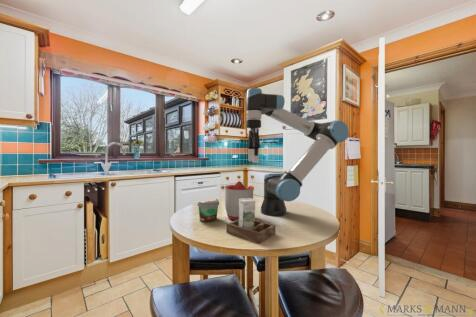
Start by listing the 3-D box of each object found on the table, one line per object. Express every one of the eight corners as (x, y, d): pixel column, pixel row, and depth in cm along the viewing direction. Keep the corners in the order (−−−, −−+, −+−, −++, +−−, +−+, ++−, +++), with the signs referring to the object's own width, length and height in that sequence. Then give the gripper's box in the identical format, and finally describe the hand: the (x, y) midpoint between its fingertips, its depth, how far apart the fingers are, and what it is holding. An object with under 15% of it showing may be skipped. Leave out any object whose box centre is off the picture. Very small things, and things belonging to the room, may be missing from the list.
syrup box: (249, 228, 101) (250, 197, 101) (254, 233, 96) (255, 200, 95) (238, 229, 100) (238, 198, 99) (242, 234, 94) (242, 201, 94)
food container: (203, 224, 107) (204, 204, 107) (197, 221, 112) (197, 202, 111) (223, 219, 115) (224, 200, 115) (217, 216, 120) (217, 198, 119)
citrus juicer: (259, 215, 123) (260, 180, 122) (244, 224, 108) (245, 184, 107) (235, 211, 131) (236, 178, 130) (218, 219, 116) (219, 181, 115)
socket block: (243, 225, 107) (243, 217, 106) (275, 234, 96) (275, 225, 96) (226, 232, 97) (226, 223, 97) (259, 243, 86) (259, 233, 86)
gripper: (243, 122, 123) (242, 160, 124) (250, 115, 98) (249, 163, 99) (256, 123, 124) (255, 160, 125) (266, 116, 99) (266, 163, 100)
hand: (253, 161), depth 112 cm, fingers open, 13 cm apart
